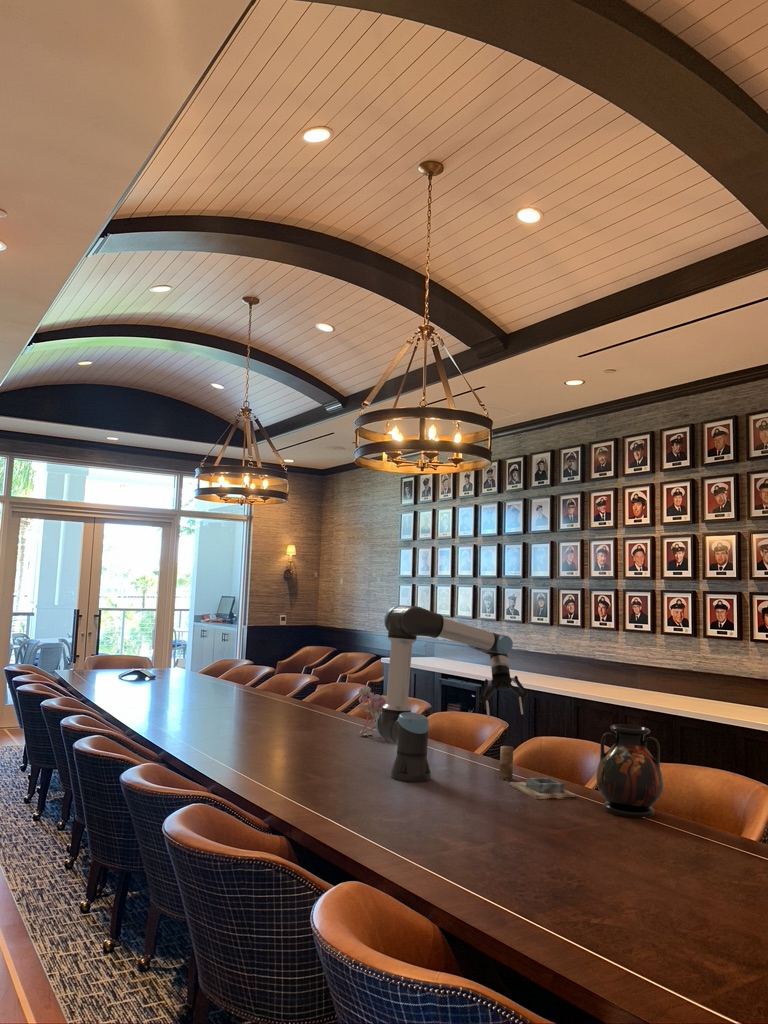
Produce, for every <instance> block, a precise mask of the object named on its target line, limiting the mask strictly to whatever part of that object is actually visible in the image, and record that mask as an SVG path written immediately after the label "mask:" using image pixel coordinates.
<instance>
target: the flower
mask: <svg viewBox="0 0 768 1024" xmlns="http://www.w3.org/2000/svg"><path fill="white" fill-rule="evenodd" d="M360 687H361V688H360V689H358V693H359V695H360V697H359V698H358V702H359V703H361V704H362V703H364V704H363V705H359V706H358V707H357V709H356V710H359V709H363V708H364V709H365V710H364V713H367V717H366V721H365V723H364V726H363V727H362V729H361V730H360V732H359V734H358V735H357V737H358V736H359V737H362V736H366V735H367V736H366V737H369V736H368V735H371V736H372V735H373V732H371V731H372V730H375V729H376V719H377V717H378V716H379V715H380V713H381V712H382V706H383V705H384V704H386V699H387V697H386V698H385V697H384V694H382V695H381V694H378V693H377V694H376V693H374V691H373V692H371V688H370V687H367V686H363V685H361V686H360ZM369 701H370V702H369ZM365 704H366V705H365ZM367 704H368V705H367ZM370 715H371V716H372V719H370ZM371 724H373V727H372V728H369V729H368V727H369V726H370V725H371Z"/></svg>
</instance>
